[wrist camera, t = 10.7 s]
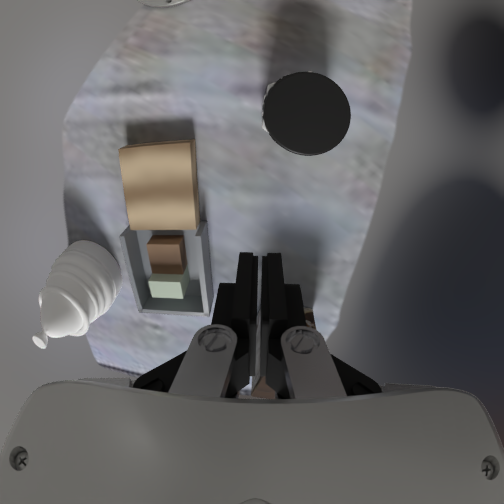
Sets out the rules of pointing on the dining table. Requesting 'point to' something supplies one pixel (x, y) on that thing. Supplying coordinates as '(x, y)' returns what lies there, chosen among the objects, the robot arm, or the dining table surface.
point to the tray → (198, 265)
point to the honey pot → (77, 291)
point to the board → (161, 185)
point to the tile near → (167, 254)
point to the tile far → (169, 285)
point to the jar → (306, 113)
